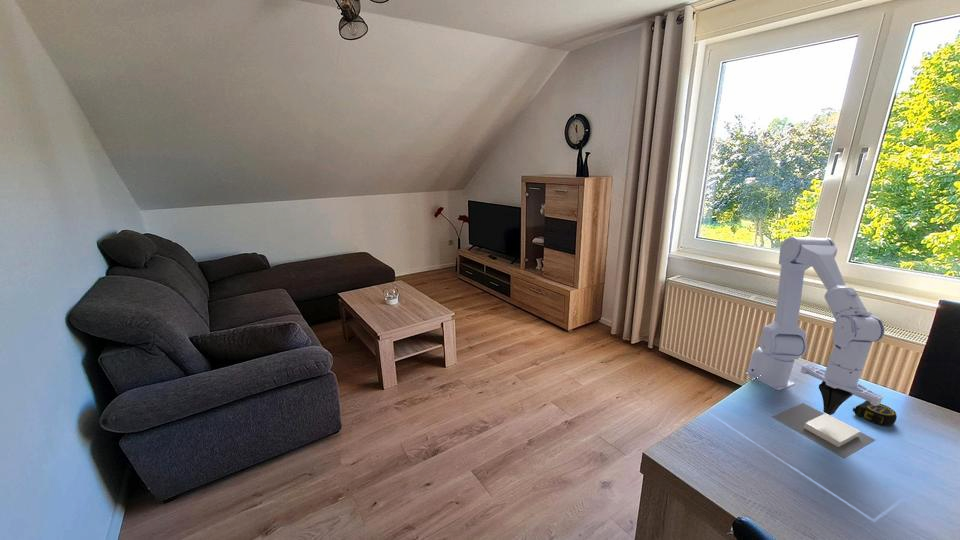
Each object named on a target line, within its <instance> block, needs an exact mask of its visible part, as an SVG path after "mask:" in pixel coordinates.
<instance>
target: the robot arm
mask: <svg viewBox="0 0 960 540" xmlns="http://www.w3.org/2000/svg"><path fill="white" fill-rule="evenodd" d="M837 253H838V248H837V247H836V245H835V241H834V240H833V239H832V238H830V237H802V236H800V237H798V236H789V237H787V238H786V239H785V240H784V241H782V242H781V244H780V250H779V257H778V265H780V273H779V281H778V288H777V289H778V290H777V297H776V298H777V299H776V307H775V308H776V309H775V313H774V314H775V315H774V316H775V317H774V321H772V322H771V323H769V324H767V325H765V326H763V327H762V330H761V331H762V332H761V334H760V336H759V338H758V345H759V346H758V347H757V348H755V350H754V351H753V353H752V355H751V359H750V361H749V364H748V369H747V372H745V375H747V376H750V377H751V378H753V379H755V378H757V377H758V378H757V379H756V380H757V381H759V382H762V383H763V384H765V385H767V386H769V387H771V388H773V389H775V390H777V391H782V390H784V389H786V388H789V387H791V386H793V385H795V382H794V381H792V380H790V377H791V374H792V370H793V367H794V364H795V361H796V360H799V357H803V356H804V355H805V354H806V352H807V351H808V342H807V339H806V337H807V332H806V331H805V330H804V329H803V328H801V327H800V326H799V318H800V309H801V300H802V296H803V295H802V292H803V285H804V277H805V271H807V270H808V269H810V268H811V267H812V268H813V270H814V271H815V273H816V275H817V277H818V278H819V279H820V281H821V283H822V284H823V285H824V287H825V288H826V290H827V291H826V293H824V296H823V297H824V299H825V301H826V303H827V306H828V307H829V310H830V311H831V313H832V316H833V318H834V319H835V321H833V322H832V331H833V338H832V340H833V341H832V342H833V343H834V345H833V348H832V350H831V354H830V357H829V359H828V363H827V366H826V368H825V369H823V368H820V367H819V368H818V367H815V366H813V365H810V364H808V363H806V364H803V365H802V366H801V370H800V373H802V374H804V375H808V376H810V377H813V378H815V379H818V380H820V381H822V382H821V383H820V384H818V390H819V391H820V395H821V397H822V403H823V410H822V411H823V412H822V413H824V414H825V413H826V414H828V415H830V416H832V415H833V414H835V413H836V411H837V410H838V409H839V407H840V406H841V405H842V404H844V402H846V401H847V400H848V399H849V398H852V397H853V396H856V397H858V398H860V399H863V400H864V401H869V402H870V404H872V405H875V406H877V405H879V404H881V403H882V401H883V398H884V396H883V395H880V394H878V393H877V392H874V391H872V390H871V389H869V388H867V387H865V386H863V385H862V384H860V383H859V380H860V377H861V375H862V372H863V369H864V366H865V364H866V361H867V358H868V355H869V352H870V350H871V347H872V345H873V343H877V342H880V341H881V340H882V339H883V338H884V336H885V332H886V331H885V330H886V329H885V326H884V323H883V321H882V319H880V318H879V317H878V316H875V315H874V314H873V313H872V312H870V311H868V310H867V308H866V307H865V305H864V303H863V302H862V300H861V298H860V296H859V294H858V293H857V290H856V289H855V288H854V287H849V286H847V285H846V282H845V281H844V278H843V276H842V272H841V271H840V269H839V266H838V263H837V261H836V259H835V258H836V256H837ZM760 375H761V376H760Z"/></svg>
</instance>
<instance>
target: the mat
mask: <svg viewBox="0 0 960 540" xmlns="http://www.w3.org/2000/svg"><path fill="white" fill-rule="evenodd" d="M823 414H825V413H824V412H821V411H820V410H819V409H816V408H814V407H812V406H811V405H808V404H807V403H804V402H801V403H800V404H797V405H794V406H793V407H791V408H789V409H786V410H784V411H781V412H779V413H777V414H774V415H773V416H771V418H773V419H775V420H776V421H778V422H780V423H781V424H783V425H785V426H787V427H789V428H790V429H792V430H794V431H795V432H797V433H799V434H800V435H803V436H804V437H805V438H808V439H810V440H811V441H813V442H814V443H816V444H818V445H820V446H822V447H823V448H825V449H827V450H828V451H831V452H832V453H834V454H836V455H837V456H839V457H841V458H842V459H846V458H847V457H849V456H851V455H852V454H854V453H856V452H858V451H860V450H861V449H864V447H866V446H868V445H870V444H872V443H873V442H874V441H876V439H875V438H873V437H870V436H869V435H867V434H865V433H863V432H860V434H859V436H858V437H856V438H854V439H852V440H851V441H849V442H847V443H845V444H843V445H842V446H840V447H836V446H834V445H833V444H831V443H829V442H827V441H825V440H824V439H822V438H820V437H818V436H817V435H815V434H813V433H811V432H809V431H808V430H806V429H805V428H804V425H805V423H806V422H808V421H810V420H812V419H814V418H817V417H819V416H821V415H823Z"/></svg>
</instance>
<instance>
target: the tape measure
mask: <svg viewBox="0 0 960 540" xmlns="http://www.w3.org/2000/svg"><path fill="white" fill-rule="evenodd" d="M852 412H853V413H854V414H855V415H856V416H858V417H860V418H863V419H865V420H867V421H868V422H871V423H873V424H876V425H880V426H884V427H885V426H887V427H889V426H893V425H894V424H895V422H897V412H896V411H895V410H894V409H892V408H891V407H889V406H887V405H885V404H883V403H882V404H881V403H880V404H879V405H877V406H875V405H872V404H870V402H869V401H867V400H864V401H863V402H862V403H860V404H858V405H856V406H855V407H852Z"/></svg>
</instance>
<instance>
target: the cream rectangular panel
mask: <svg viewBox="0 0 960 540" xmlns="http://www.w3.org/2000/svg"><path fill="white" fill-rule="evenodd" d="M804 428H805V429H806V430H808V431H809V432H811V433H813V434H815V435H817V436H818V437H820V438H822V439H824V440H825V441H827V442H829V443H831V444H833V445H834V446H836V447H840V446H842V445H843V444H845V443H847V442H849V441H851V440H852V439H854V438H856V437H858V436H859V434H860V432H861V430H860V429H857V428H856V427H854V426H852V425H850V424H847V423H846V422H844V421H842V420H839V419H837V418H836V417H834V416H832V415H828V414H826V413H824V414H823V415H821V416H819V417H817V418H814V419H812V420H810V421H808V422H806V423H805V425H804ZM861 433H862V432H861Z"/></svg>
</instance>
